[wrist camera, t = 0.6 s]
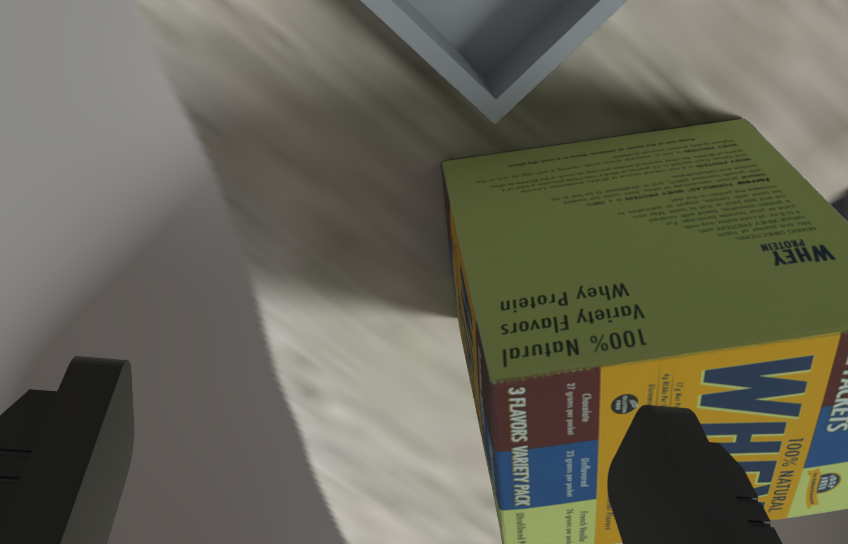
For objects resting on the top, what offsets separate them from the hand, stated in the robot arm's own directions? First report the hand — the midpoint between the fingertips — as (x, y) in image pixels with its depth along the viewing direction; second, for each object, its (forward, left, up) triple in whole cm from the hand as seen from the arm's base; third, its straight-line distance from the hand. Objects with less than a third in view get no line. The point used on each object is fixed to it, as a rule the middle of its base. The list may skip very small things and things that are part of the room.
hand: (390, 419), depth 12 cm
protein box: (+1, +17, -25) cm, 30 cm away
